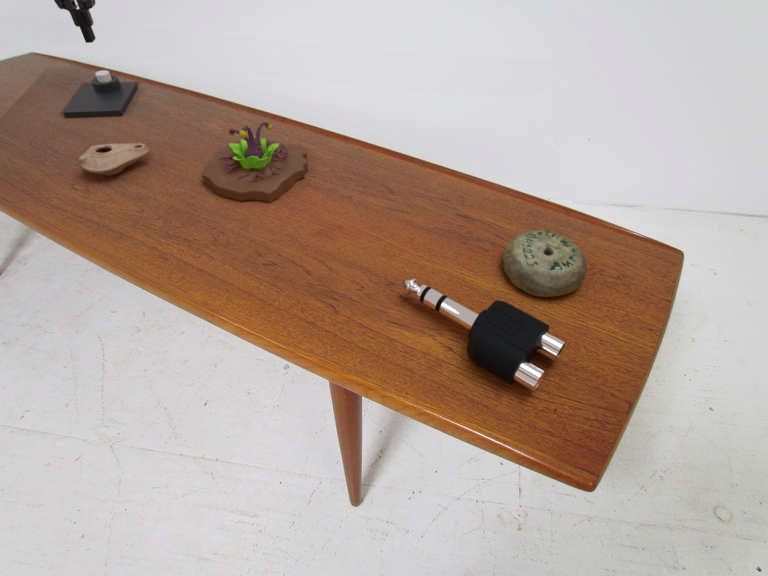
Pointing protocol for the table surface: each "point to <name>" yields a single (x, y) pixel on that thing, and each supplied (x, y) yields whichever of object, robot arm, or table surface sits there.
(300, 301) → the table surface
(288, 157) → the plant
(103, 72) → the button
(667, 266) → the table surface
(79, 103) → the scale
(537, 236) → the weight
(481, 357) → the audio adapter
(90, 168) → the pottery oil lamp
